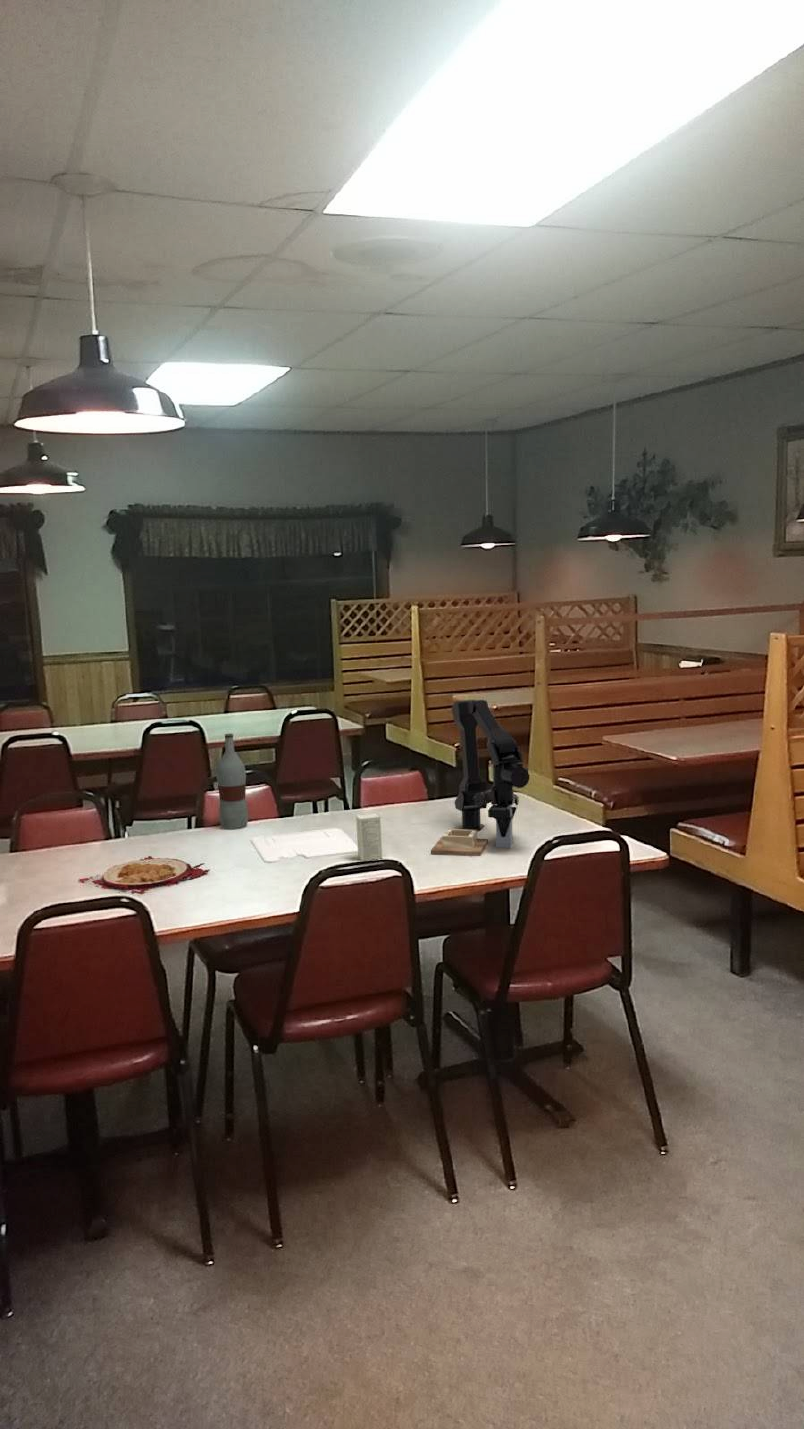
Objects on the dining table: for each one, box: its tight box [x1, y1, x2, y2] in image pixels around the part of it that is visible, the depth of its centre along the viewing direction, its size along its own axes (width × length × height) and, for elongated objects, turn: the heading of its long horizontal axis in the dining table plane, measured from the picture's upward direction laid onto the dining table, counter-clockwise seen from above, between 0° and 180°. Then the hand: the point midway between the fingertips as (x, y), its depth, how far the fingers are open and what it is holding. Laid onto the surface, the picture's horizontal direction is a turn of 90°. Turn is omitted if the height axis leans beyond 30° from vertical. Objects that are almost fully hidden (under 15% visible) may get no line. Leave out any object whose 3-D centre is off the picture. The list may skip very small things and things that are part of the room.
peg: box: [495, 819, 514, 848], centre depth 275 cm, size 4×4×10 cm
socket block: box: [430, 828, 490, 857], centre depth 274 cm, size 14×14×4 cm
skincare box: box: [355, 813, 383, 862], centre depth 267 cm, size 6×4×12 cm
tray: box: [250, 828, 358, 864], centre depth 283 cm, size 28×28×2 cm
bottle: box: [216, 733, 249, 831], centre depth 307 cm, size 9×9×30 cm
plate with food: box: [78, 855, 211, 896], centre depth 257 cm, size 24×26×3 cm
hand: (504, 835), depth 276 cm, fingers closed on peg, 4 cm apart
